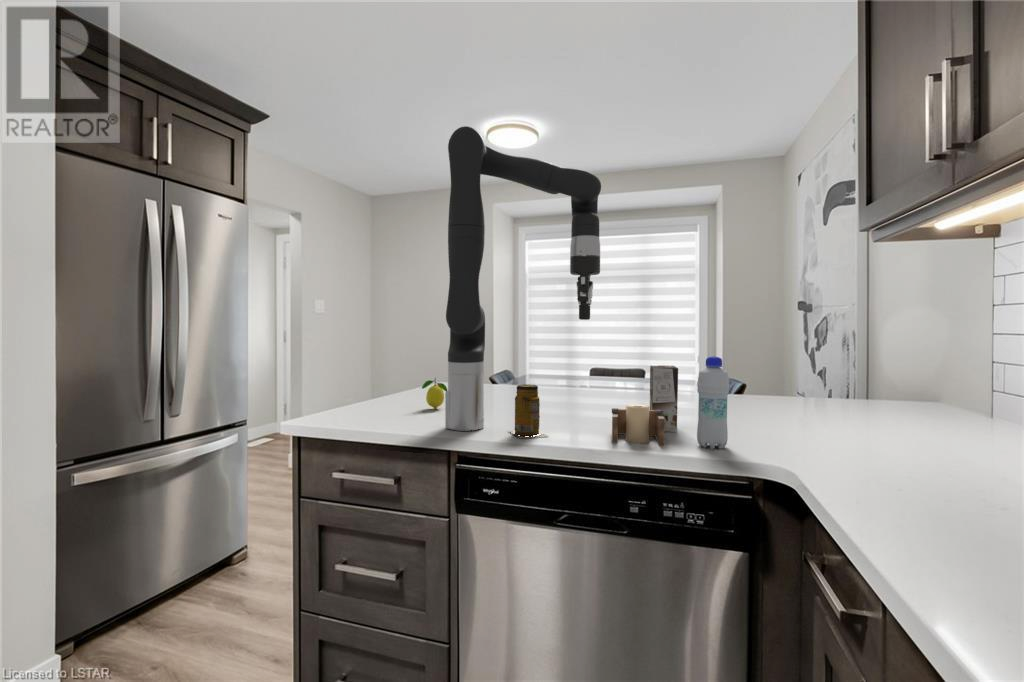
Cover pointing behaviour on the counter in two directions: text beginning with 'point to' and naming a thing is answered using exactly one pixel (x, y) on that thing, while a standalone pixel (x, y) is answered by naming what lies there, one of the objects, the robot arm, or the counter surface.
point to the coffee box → (665, 394)
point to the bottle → (712, 404)
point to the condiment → (527, 412)
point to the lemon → (435, 393)
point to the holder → (654, 424)
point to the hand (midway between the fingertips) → (584, 319)
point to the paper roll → (637, 423)
